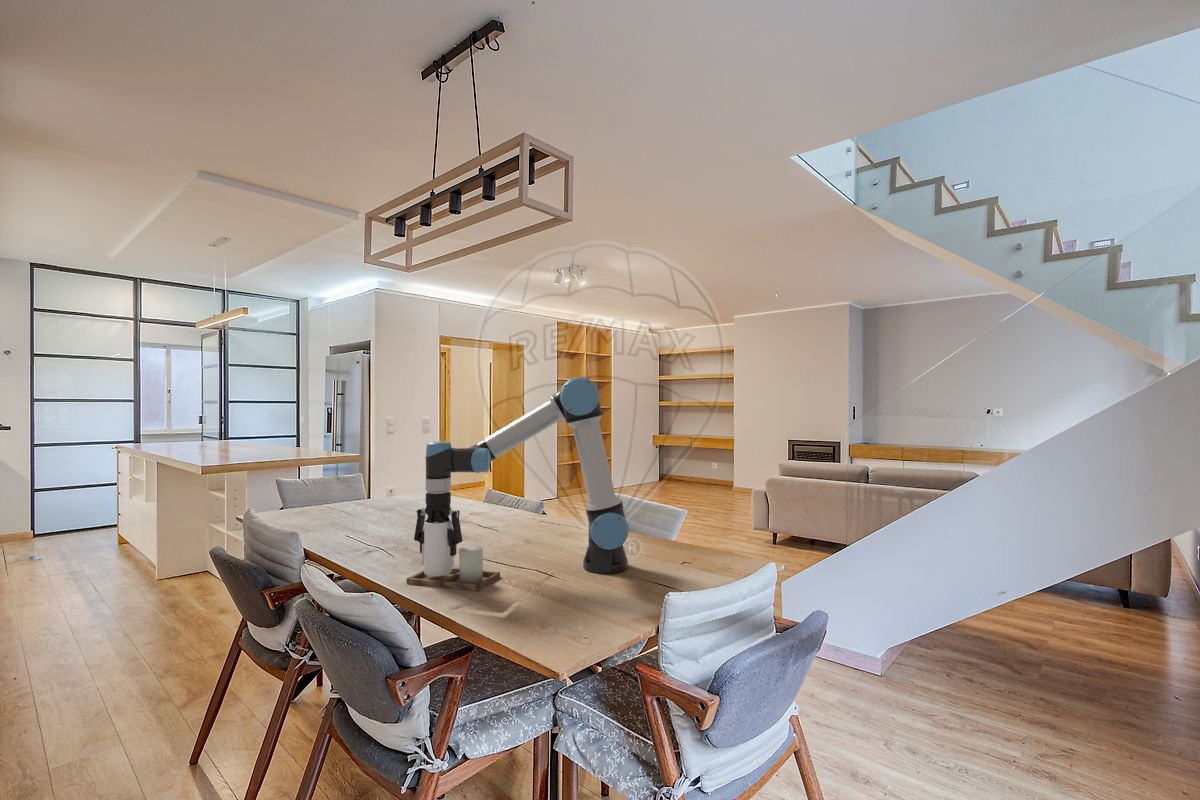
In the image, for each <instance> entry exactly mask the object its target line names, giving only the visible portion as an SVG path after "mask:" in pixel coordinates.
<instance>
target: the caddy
mask: <svg viewBox="0 0 1200 800" xmlns="http://www.w3.org/2000/svg"><path fill="white" fill-rule="evenodd" d="M499 578H501V572H500V571H493V570H483V581H482V582H481V583H479V584H477V585H475V584H465V583H459V567H452V572H451V573H449V574H446V575H442V576H428V575H425V574H424V569H423V570H421V571H419V572H418V573H415V574H413V575H412V576H409V577H407V578H406V584H407V585H412V586H413V585H415V586H425V587H435V588H442V589H443V588H444V589H452V590H453V589H454V590H461V591H471V592H480V591H481V590H483V589H484V588H486V587H487V586H489V585H490V584H492V583H494V582H495V581H496V580H498V579H499Z"/></svg>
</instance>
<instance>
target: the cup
mask: <svg viewBox="0 0 1200 800" xmlns="http://www.w3.org/2000/svg"><path fill="white" fill-rule="evenodd" d="M449 519H450V521H449V522H445V523H440V522H434V523H427V522H426V521H427V519H425V521H424V527H423V530H424V565H423V570H424V574H425V575H428V576H442V575H446V574H449V573H451V572H452V568H453V566H451V567H447V546H448V545H450V544H449V541H448V538H447V528H448V529H450V528H451V527H452V518H449ZM452 528H453V527H452Z"/></svg>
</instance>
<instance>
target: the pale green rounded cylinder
mask: <svg viewBox="0 0 1200 800" xmlns="http://www.w3.org/2000/svg"><path fill="white" fill-rule="evenodd" d="M458 552H459V555H458V561H459V562H458V565H459V566H458V568H459V583H465V584H475V585H477V584H479V583H481V582H482V581H483V571H484V565H483V564H484V548H483V547H482V546H479V545H478V546H477V545H469V546H464V547H460V548H459V551H458Z"/></svg>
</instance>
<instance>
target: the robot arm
mask: <svg viewBox="0 0 1200 800" xmlns="http://www.w3.org/2000/svg"><path fill="white" fill-rule="evenodd" d="M602 411H603V410H602V406H601V402H600V393H599V389H598V387H597V384H596V383H594V381H592V380H591V379H589V378H588V377H585V376H575V377H572V378H570V379H568V380H567V381H565V383H564V384H563V385H562V386H561V389H559V390H558V391H557V392H555V393H553V394H552V395H551V396H550V398H549V400H548V401H546V402H544V403H543V404H541V405H539V406H538V407H536V408H534V409H533V410H530V411H529V412H527V413H526V414H524V415H523V416H521V417H519V418H518V419H516V420H514V421H512V422H511V423H509V424H507V425H505V426H504V427H503V428H501V429H498V430H497V431H496V432H494V433H492V434H491V435H489V436H487V437H485V439H482V440H481V441H478V442H476V443H475V444H473V445H472V446H470V447H468V448H467V447H465V448H461V447H460V448H458V447H457V448H454V447H452V443H451V442H450V441H430V442H428V443H427V444H426V448H425V450H426V451H425V491H426V493H425V506H426V507H425V508H424V507H423V508H422V507H421V508H418V509H417V510H416V516H417V517H416V518H417V519H416V525H415V530H414V536H413V541H415V542H418V543H419V553H420V554H421V565H422V566H424V521H425V520H427V521H426V522H427V523H434V522H440V523H445V522H449V521H450V519H452V527H451V528H450V529H448V528H447V538H448V541H449V544H450V545H448V546H447V567H451V566H452V567H453V566H454V565H455V556H456V555H457V545H459V544H460V543H463V535H462V529H461V523H460V514H461V512H460V510H453V509H452V507H451V503H452V500H451V499H452V495H451V494H452V492H451V487H452V481H451V480H452V475H451V474H452V473H476V474H479V473H487V472H489V471H490V468H491V462H493V461H494V460H496V459H497V458H498V457H500V456H502V455H504V454H506V453H508V452H509V451H510V450H513V449H515V448H516V447H517V446H519V445H521V444H522V443H525V442H526V441H528V440H529V439H531V438H533V437H534V436H536V435H537V434H539V433H541V432H542V431H545V430H546V429H548V428H550V427H551V426H553V425H555V424H557V423H558V422H560V421H565V422H566V424H567V426H569V427H571V428H572V432H573V436H574V440H575V445H576V450H577V454H578V459H579V463H580V468H581V473H582V477H583V481H584V485H585V486H584V487H585V490H586V495H587V500H588V503H587V505H586V506H585V513H586V517H587V521H588V544H587V548H586V550H585V551H586V552H585V555H584V557H583V560H582V563H583V564H582V565H583V566H582V567H583V569H584V570H586V571H588V572H591V573H597V574H616V573H621V572H624V571H626V570H628V568H629V560H628V556H627V554H626V550H625V547H624V544H625V542H626V541H627V539H628V537H629V531H630V527H629V523H628V521H627V519H626V515H625V509H624V503H623V501H622V499H621V498H619V497H618V496H617V495H616V492H615V488H614V483H613V482H614V481H613V478H612V474H611V469H610V466H609V461H608V456H607V455H608V454H607V453H606V448H605V447H606V446H605V442H604V438H603V433H602V430H601V425H600V420H601V419H602V417H603V412H602ZM426 515H427V518H426ZM449 516H450V517H449Z"/></svg>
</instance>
